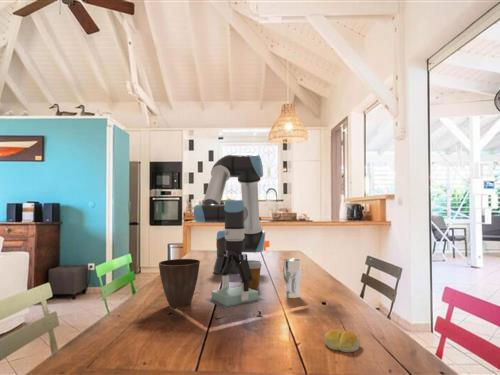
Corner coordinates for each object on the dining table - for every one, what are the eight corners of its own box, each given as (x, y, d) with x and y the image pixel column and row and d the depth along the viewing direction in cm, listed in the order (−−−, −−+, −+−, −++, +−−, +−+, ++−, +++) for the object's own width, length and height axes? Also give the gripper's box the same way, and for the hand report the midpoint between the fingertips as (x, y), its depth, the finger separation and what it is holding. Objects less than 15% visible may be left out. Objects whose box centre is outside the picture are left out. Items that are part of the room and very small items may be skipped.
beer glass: (303, 297, 137) (302, 258, 138) (298, 301, 131) (297, 261, 131) (286, 295, 140) (286, 257, 141) (281, 299, 134) (280, 260, 134)
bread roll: (330, 337, 96) (330, 323, 97) (362, 344, 92) (362, 329, 92) (319, 348, 89) (319, 332, 90) (354, 356, 85) (353, 339, 85)
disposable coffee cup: (262, 287, 153) (262, 260, 153) (261, 293, 143) (261, 264, 144) (241, 287, 154) (241, 260, 154) (238, 292, 144) (238, 263, 145)
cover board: (211, 299, 131) (211, 291, 132) (242, 293, 139) (242, 285, 139) (226, 306, 122) (226, 297, 123) (258, 299, 130) (258, 291, 130)
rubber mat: (205, 301, 132) (205, 299, 132) (244, 294, 142) (244, 291, 142) (223, 311, 120) (223, 308, 120) (264, 302, 130) (264, 299, 130)
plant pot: (149, 309, 122) (150, 264, 123) (173, 298, 136) (173, 257, 137) (186, 314, 117) (186, 266, 118) (207, 302, 131) (206, 259, 132)
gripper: (210, 237, 140) (210, 290, 139) (244, 243, 119) (244, 305, 119) (226, 236, 144) (226, 287, 143) (261, 242, 124) (262, 301, 123)
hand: (234, 296), depth 131 cm, fingers open, 13 cm apart
